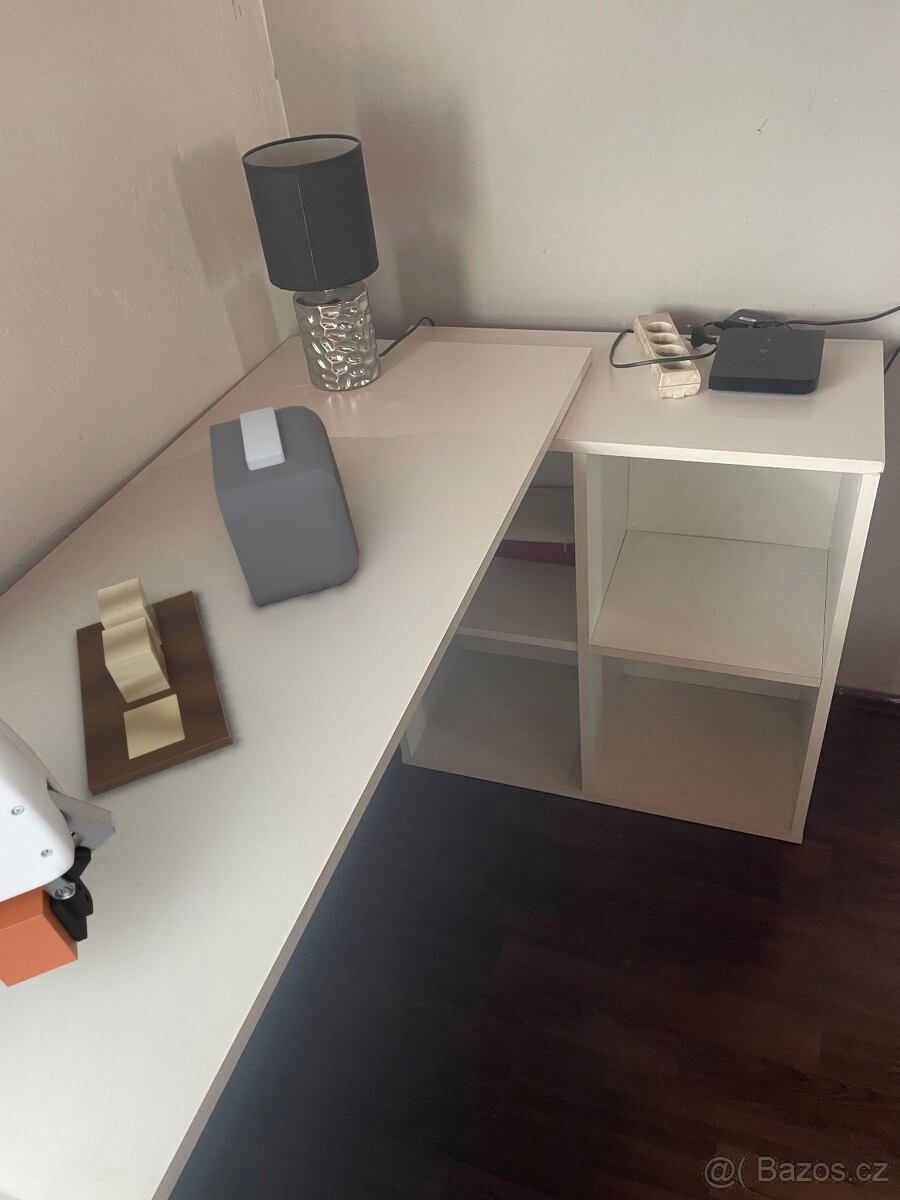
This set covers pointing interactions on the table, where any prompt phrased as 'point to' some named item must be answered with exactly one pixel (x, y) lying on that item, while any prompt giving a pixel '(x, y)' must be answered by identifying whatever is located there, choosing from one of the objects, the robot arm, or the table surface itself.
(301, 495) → the alarm clock
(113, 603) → the beige wooden cube
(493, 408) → the table surface
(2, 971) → the terracotta orange cube
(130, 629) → the cream wooden block
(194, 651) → the word board
